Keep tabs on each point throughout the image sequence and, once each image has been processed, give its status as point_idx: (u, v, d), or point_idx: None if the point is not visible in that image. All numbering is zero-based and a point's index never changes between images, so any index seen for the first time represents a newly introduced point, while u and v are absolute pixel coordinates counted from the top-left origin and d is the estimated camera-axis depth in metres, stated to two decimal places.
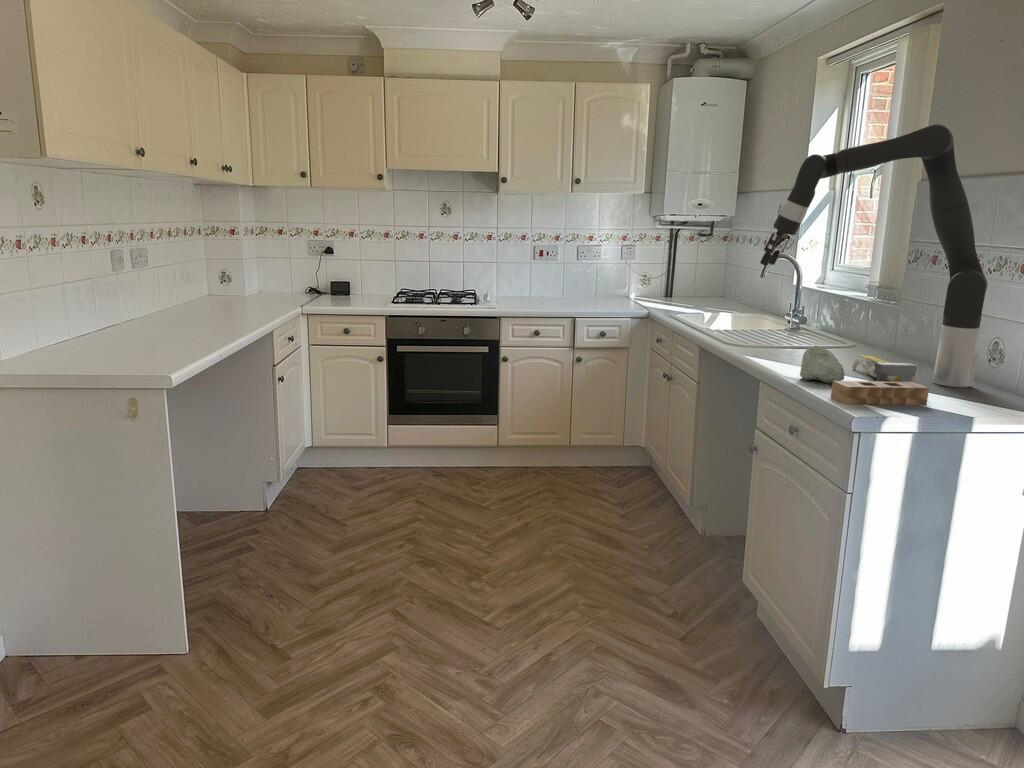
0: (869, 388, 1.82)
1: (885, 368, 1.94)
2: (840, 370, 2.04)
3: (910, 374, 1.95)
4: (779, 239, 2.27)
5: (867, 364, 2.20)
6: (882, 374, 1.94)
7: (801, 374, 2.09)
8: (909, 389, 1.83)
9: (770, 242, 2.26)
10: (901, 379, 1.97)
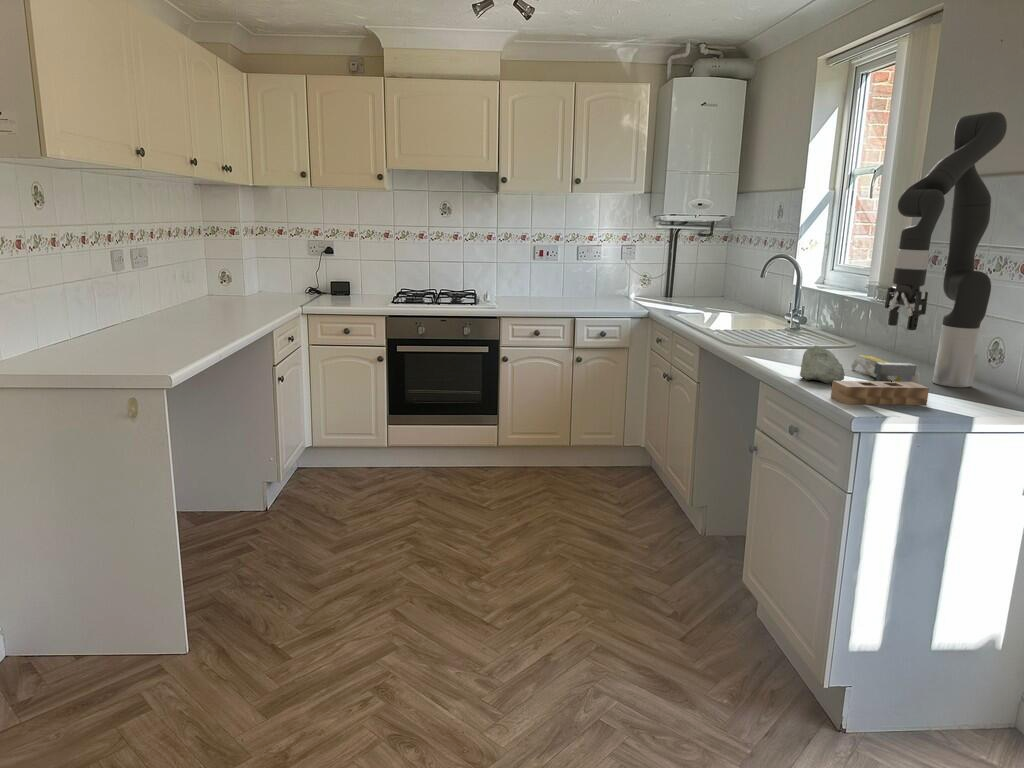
0: (869, 388, 1.82)
1: (885, 368, 1.94)
2: (840, 370, 2.04)
3: (910, 374, 1.95)
4: None
5: (867, 364, 2.20)
6: (882, 374, 1.94)
7: (801, 374, 2.09)
8: (909, 389, 1.83)
9: (920, 302, 1.85)
10: (901, 379, 1.97)
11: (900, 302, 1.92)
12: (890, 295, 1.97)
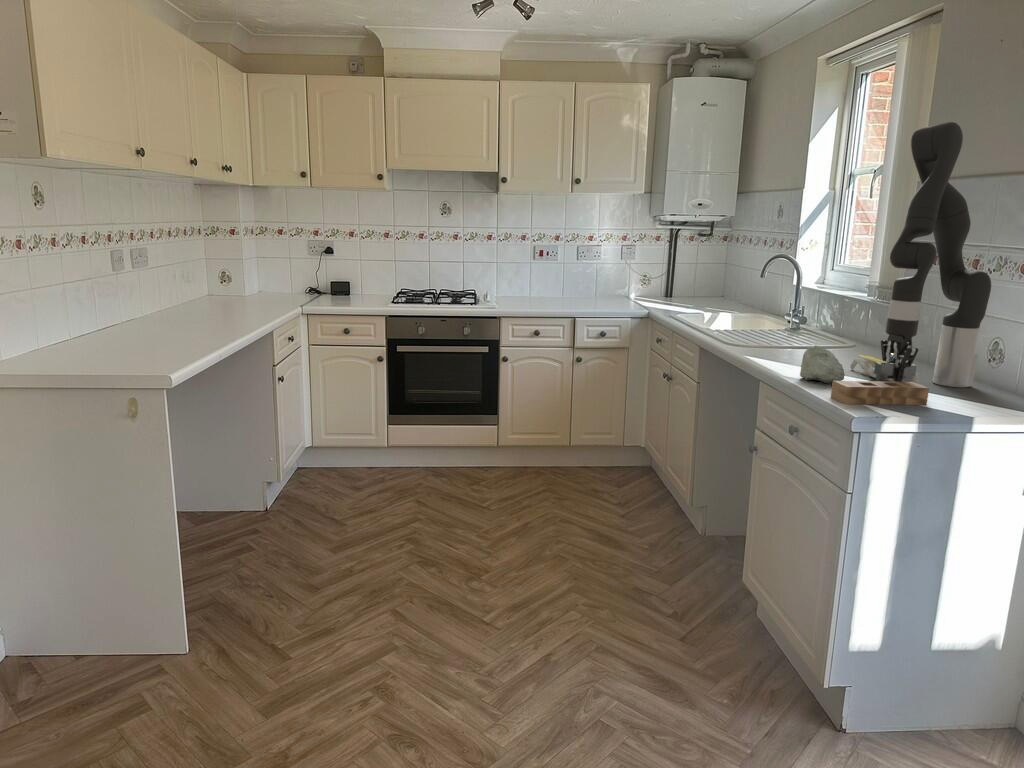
0: (869, 388, 1.82)
1: (885, 368, 1.94)
2: (840, 370, 2.04)
3: (910, 374, 1.95)
4: (911, 345, 1.90)
5: (866, 364, 2.20)
6: (882, 374, 1.94)
7: (801, 374, 2.09)
8: (909, 389, 1.83)
9: (908, 358, 1.89)
10: None
11: (893, 351, 1.95)
12: (884, 347, 1.99)
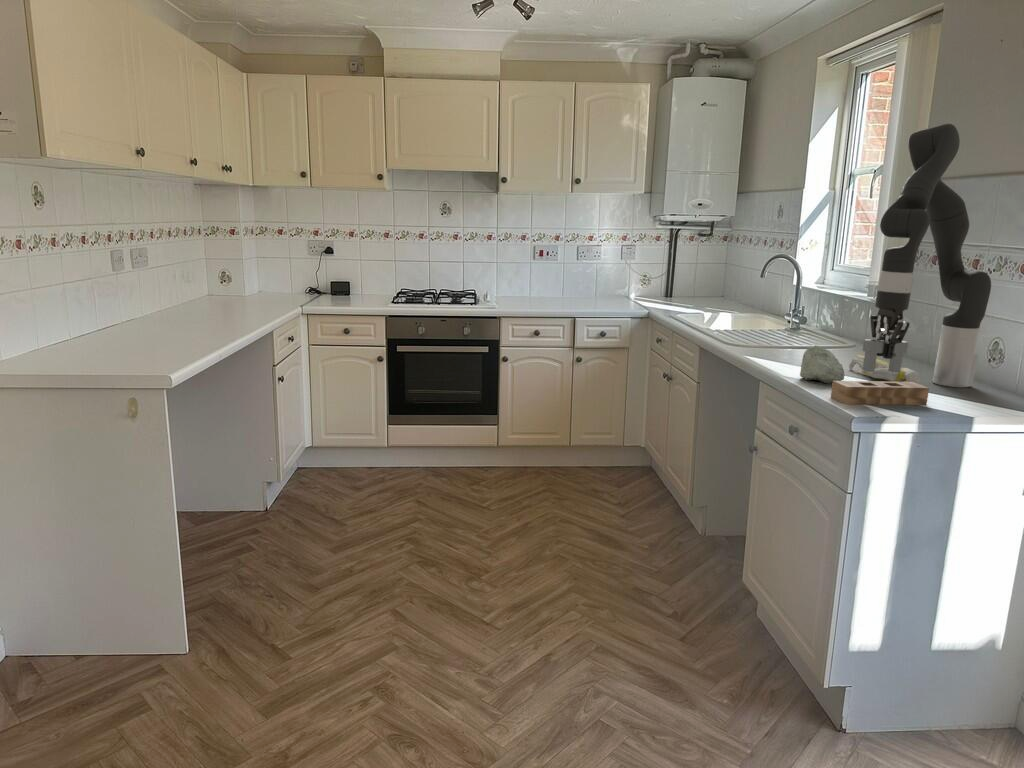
0: (869, 388, 1.82)
1: (874, 344, 1.82)
2: (840, 370, 2.04)
3: (901, 352, 1.82)
4: (902, 320, 1.78)
5: None
6: (871, 351, 1.82)
7: (801, 374, 2.09)
8: (909, 389, 1.83)
9: (899, 333, 1.77)
10: None
11: (883, 326, 1.83)
12: (874, 323, 1.87)
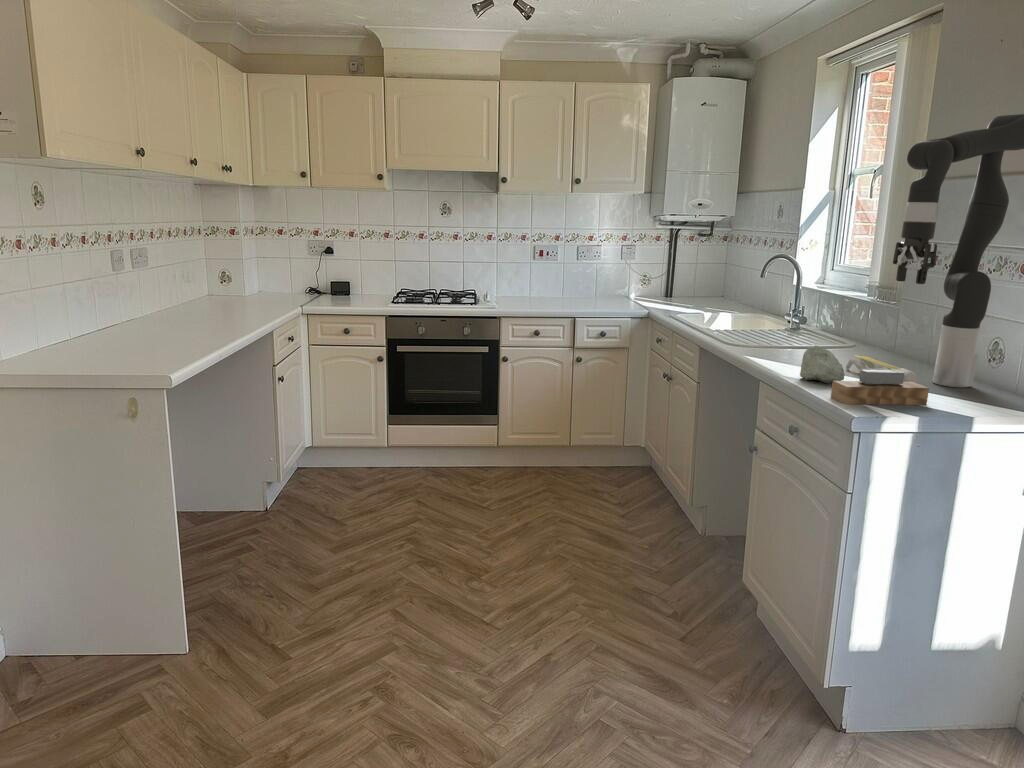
0: (869, 388, 1.82)
1: (871, 375, 1.83)
2: (840, 370, 2.04)
3: (897, 382, 1.84)
4: None
5: (862, 364, 2.19)
6: (868, 382, 1.84)
7: (801, 374, 2.09)
8: (909, 389, 1.83)
9: (930, 255, 1.83)
10: None
11: (909, 256, 1.90)
12: (898, 250, 1.95)
